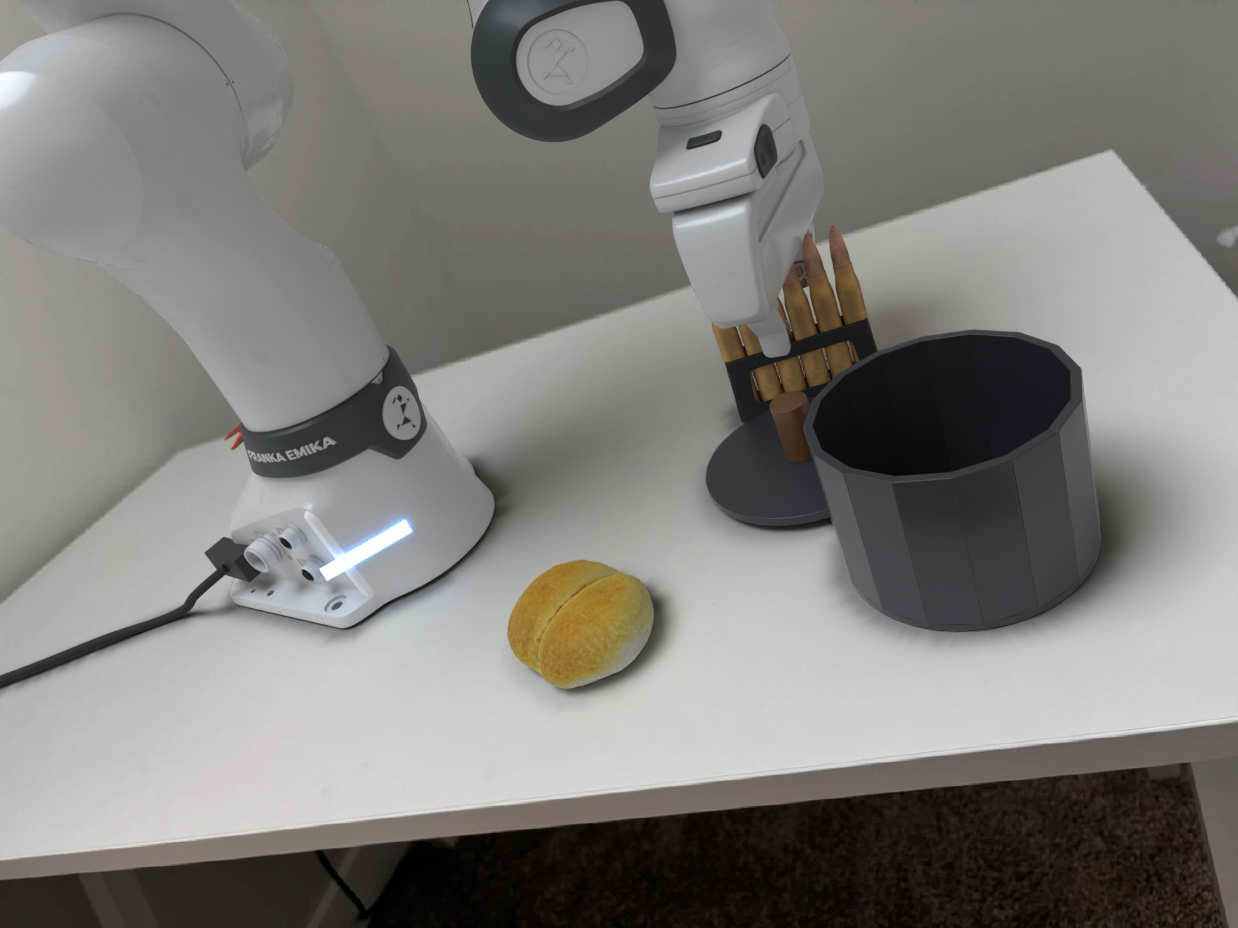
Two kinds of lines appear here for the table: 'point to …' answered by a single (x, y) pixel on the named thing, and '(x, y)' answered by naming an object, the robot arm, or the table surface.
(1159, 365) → the table surface
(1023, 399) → the pot
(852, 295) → the ammunition clip
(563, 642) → the bread roll
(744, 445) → the lid
